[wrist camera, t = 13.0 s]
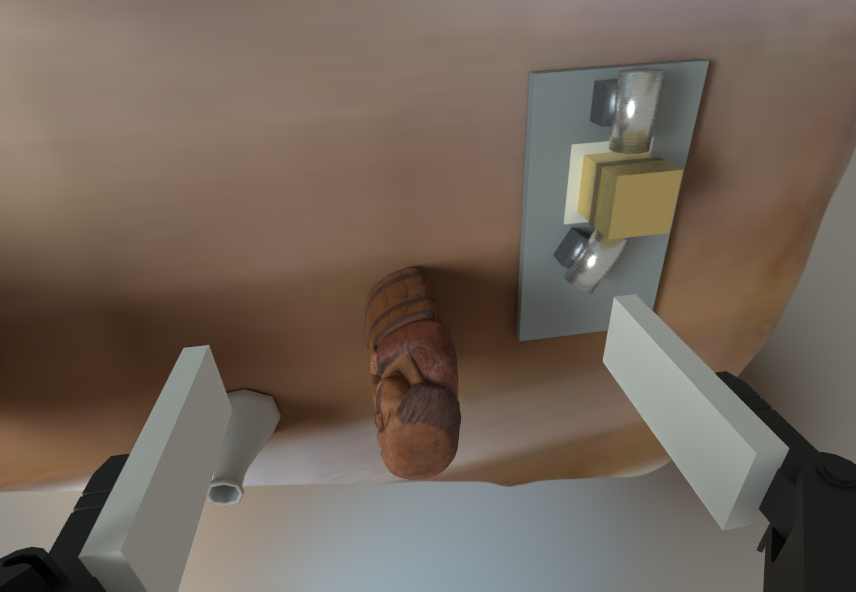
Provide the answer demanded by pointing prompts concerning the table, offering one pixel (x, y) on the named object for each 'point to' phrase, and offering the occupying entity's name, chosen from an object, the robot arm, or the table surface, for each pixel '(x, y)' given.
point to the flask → (242, 443)
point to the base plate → (560, 185)
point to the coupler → (628, 194)
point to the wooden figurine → (412, 376)
